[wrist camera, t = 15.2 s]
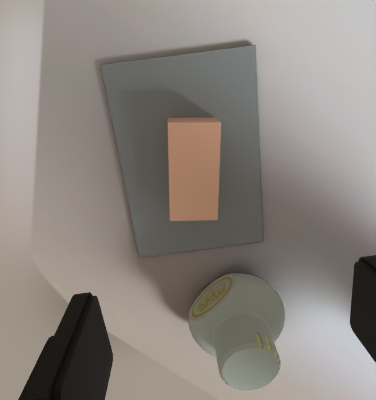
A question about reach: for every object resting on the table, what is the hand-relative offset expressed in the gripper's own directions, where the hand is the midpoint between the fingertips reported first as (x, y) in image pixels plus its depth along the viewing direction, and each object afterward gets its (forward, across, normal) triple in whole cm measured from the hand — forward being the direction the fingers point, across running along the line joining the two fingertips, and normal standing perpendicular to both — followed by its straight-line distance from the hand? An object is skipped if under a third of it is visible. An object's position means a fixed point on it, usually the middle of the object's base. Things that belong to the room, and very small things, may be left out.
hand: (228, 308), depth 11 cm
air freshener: (+22, -3, +18) cm, 29 cm away
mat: (+22, 0, 0) cm, 22 cm away
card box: (+22, 0, 0) cm, 22 cm away
